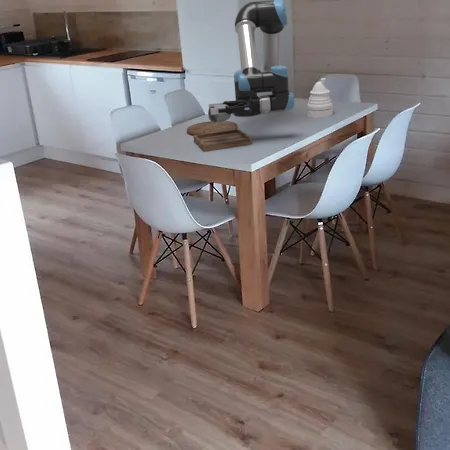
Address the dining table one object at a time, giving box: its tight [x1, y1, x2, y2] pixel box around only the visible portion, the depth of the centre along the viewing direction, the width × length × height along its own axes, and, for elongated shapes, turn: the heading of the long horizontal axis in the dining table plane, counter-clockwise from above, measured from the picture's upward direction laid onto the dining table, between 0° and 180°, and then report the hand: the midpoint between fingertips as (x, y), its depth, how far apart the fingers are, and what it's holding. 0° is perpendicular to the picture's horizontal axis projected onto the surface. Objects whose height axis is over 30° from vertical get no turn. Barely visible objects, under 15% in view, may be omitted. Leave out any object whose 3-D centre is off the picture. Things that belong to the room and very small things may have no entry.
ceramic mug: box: [207, 104, 232, 123], centre depth 283 cm, size 11×8×8 cm
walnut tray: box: [193, 128, 253, 153], centre depth 287 cm, size 20×22×3 cm
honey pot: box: [306, 77, 334, 118], centre depth 319 cm, size 13×13×18 cm
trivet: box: [186, 120, 238, 137], centre depth 311 cm, size 25×25×2 cm
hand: (209, 109), depth 281 cm, fingers closed on ceramic mug, 9 cm apart
